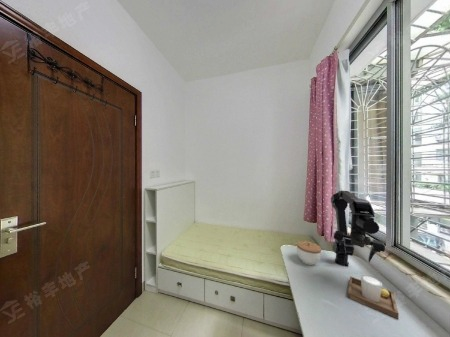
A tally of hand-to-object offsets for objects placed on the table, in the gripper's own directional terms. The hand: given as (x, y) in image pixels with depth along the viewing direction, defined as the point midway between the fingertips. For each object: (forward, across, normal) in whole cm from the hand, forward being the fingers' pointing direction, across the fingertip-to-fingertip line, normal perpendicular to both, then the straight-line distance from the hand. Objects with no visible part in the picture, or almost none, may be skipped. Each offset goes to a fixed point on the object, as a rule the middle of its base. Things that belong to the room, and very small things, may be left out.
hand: (356, 257), depth 80 cm
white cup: (+11, +5, -9) cm, 15 cm away
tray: (+11, +6, -9) cm, 16 cm away
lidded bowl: (+12, -22, +3) cm, 25 cm away
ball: (+11, +10, -5) cm, 16 cm away
